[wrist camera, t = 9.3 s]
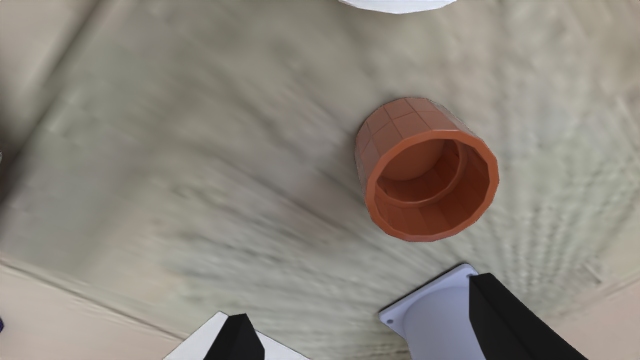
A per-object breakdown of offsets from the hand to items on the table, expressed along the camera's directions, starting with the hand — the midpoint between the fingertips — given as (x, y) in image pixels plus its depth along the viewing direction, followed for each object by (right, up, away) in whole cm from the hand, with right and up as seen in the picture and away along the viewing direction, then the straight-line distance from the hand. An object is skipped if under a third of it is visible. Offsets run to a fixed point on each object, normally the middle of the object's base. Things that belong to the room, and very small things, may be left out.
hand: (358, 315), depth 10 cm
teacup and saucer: (-9, -18, +22) cm, 29 cm away
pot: (+3, +6, +8) cm, 10 cm away
